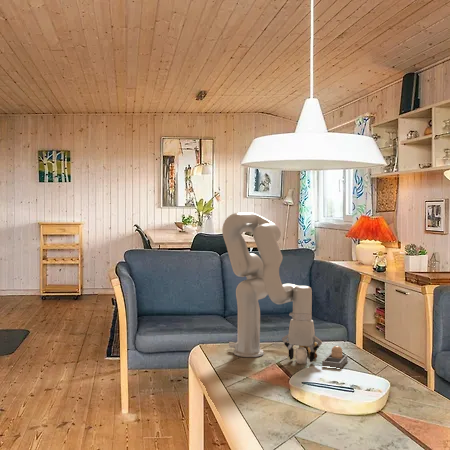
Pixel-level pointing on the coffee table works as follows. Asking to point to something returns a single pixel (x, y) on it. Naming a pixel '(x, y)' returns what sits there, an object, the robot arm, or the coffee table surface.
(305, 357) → the egg
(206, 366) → the coffee table surface
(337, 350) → the carton
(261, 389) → the coffee table surface
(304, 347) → the kendama
